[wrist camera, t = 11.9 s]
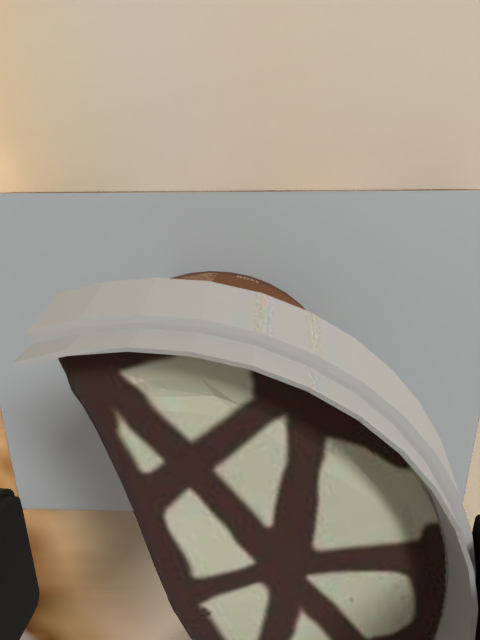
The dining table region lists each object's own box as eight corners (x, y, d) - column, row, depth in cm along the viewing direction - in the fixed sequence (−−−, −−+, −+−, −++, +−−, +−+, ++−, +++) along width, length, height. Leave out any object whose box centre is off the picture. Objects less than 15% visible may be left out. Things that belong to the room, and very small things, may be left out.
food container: (393, 469, 18) (552, 788, 8) (257, 503, 19) (262, 831, 9) (317, 184, 15) (442, 179, 5) (154, 240, 15) (-8, 329, 6)
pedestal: (466, 189, 18) (522, 190, 14) (425, 461, 22) (459, 518, 19) (16, 192, 19) (-44, 194, 15) (59, 455, 23) (21, 508, 19)
